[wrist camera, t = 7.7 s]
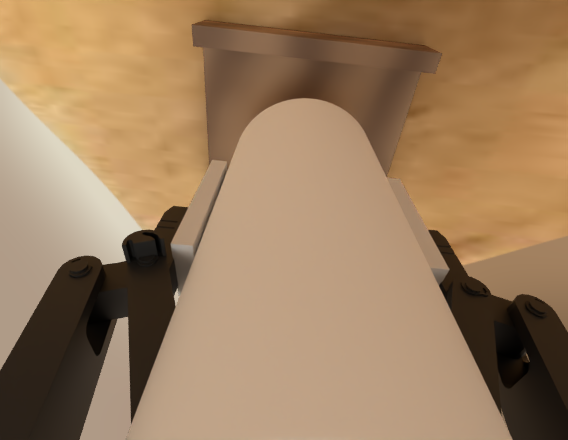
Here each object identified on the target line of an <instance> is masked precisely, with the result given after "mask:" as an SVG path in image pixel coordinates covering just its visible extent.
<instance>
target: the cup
mask: <svg viewBox="0 0 568 440" xmlns="http://www.w3.org/2000/svg"><path fill="white" fill-rule="evenodd" d="M126 440H513V439H512V437H511V435H510V433H509V431H508V429H507V427H506V425H505V423H504V421H503V419H502V416H501V414H500V412H499V410H498V408H497V406H496V404H495V402H494V400H493V398H492V396H491V393H490V391H489V389H488V387H487V385H486V383H485V381H484V379H483V377H482V375H481V373H480V370H479V368H478V366H477V364H476V362H475V360H474V358H473V356H472V354H471V352H470V350H469V347H468V345H467V343H466V341H465V339H464V337H463V335H462V333H461V331H460V329H459V327H458V325H457V323H456V321H455V318H454V316H453V314H452V312H451V310H450V308H449V306H448V304H447V302H446V300H445V298H444V296H443V294H442V291H441V289H440V287H439V285H438V283H437V281H436V279H435V277H434V275H433V273H432V271H431V269H430V267H429V264H428V262H427V260H426V258H425V256H424V254H423V252H422V250H421V248H420V246H419V244H418V242H417V240H416V237H415V235H414V233H413V231H412V229H411V227H410V225H409V223H408V221H407V219H406V217H405V215H404V213H403V210H402V208H401V206H400V204H399V202H398V200H397V198H396V196H395V194H394V192H393V190H392V188H391V186H390V183H389V181H388V179H387V177H386V175H385V173H384V171H383V169H382V167H381V165H380V163H379V161H378V159H377V156H376V154H375V152H374V150H373V148H372V146H371V144H370V142H369V140H368V138H367V136H366V134H365V132H364V130H363V128H362V127H361V126H360V124H359V123H358V122H357V121H356V120H355V119H354V118H353V117H352V116H351V115H350V114H349V113H348V112H346V111H345V110H343V109H342V108H340V107H338V106H336V105H334V104H332V103H329V102H326V101H322V100H318V99H310V98H299V99H291V100H287V101H283V102H280V103H277V104H275V105H273V106H271V107H269V108H267V109H265V110H264V111H262V112H261V113H260V114H258V115H257V116H256V117H255V118H254V119H253V120H252V121H251V122H250V123H249V124H248V126H247V127H246V128H245V130H244V131H243V133H242V135H241V137H240V139H239V142H238V144H237V147H236V149H235V152H234V155H233V157H232V160H231V163H230V165H229V168H228V170H227V173H226V176H225V178H224V181H223V184H222V186H221V189H220V192H219V194H218V197H217V199H216V202H215V205H214V207H213V210H212V213H211V215H210V218H209V220H208V223H207V226H206V228H205V231H204V234H203V236H202V239H201V242H200V244H199V247H198V249H197V252H196V255H195V257H194V260H193V263H192V265H191V268H190V271H189V273H188V276H187V278H186V281H185V284H184V286H183V289H182V292H181V294H180V297H179V300H178V302H177V305H176V307H175V310H174V313H173V315H172V318H171V321H170V323H169V326H168V328H167V331H166V334H165V336H164V339H163V342H162V344H161V347H160V350H159V352H158V355H157V357H156V360H155V363H154V365H153V368H152V371H151V373H150V376H149V379H148V381H147V384H146V387H145V389H144V392H143V395H142V397H141V400H140V403H139V405H138V408H137V410H136V413H135V416H134V418H133V421H132V424H131V427H130V429H129V432H128V435H127V437H126Z"/></svg>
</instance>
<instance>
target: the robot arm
mask: <svg viewBox="0 0 568 440" xmlns="http://www.w3.org/2000/svg"><path fill="white" fill-rule="evenodd" d="M226 173H227V161H218V160H212V161H211V163H210V165H209V167H208V169H207V171H206V173H205V175H204V177H203V179H202V181H201V183H200V185H199V187H198V189H197V191H196V193H195V195H194V197H193V199H192V201H191V203H190V205H189V207H178V206H173V207H171V208H170V209H169V210H167V211H166V212H165V213H164V215H163V216H162V218H161V220H160V221H159V223H158V225H157V228H155V230H154V231H153V230H141V231H137V232H134V233H132V234H130V235H129V236H127V237H126V238H125V239H124V241H123V243H122V248H123V251H124V255H125V258H126V261H124V262H120V263H113V264H106V265H102V263H101V261H100V259H98V258H96V257H94V256H81V257H77V258H74V259H72V260H69V261H68V262H66V263H64V264H63V265H62V266H61V267H60V269H59V270H58V271H57V273H56V274H55V276H54V278H53V280H52V281H51V283H50V285H49V287H48V288H47V290H46V292H45V294H44V295H43V297H42V299H41V301H40V302H39V304H38V306H37V308H36V309H35V311H34V313H33V315H32V316H31V318H30V320H29V322H28V323H27V325H26V327H25V328H24V330H23V332H22V334H21V335H20V337H19V339H18V341H17V342H16V344H15V346H14V348H13V350H12V351H11V353H10V355H9V356H8V358H7V360H6V362H5V363H4V365H3V367H2V369H1V370H0V440H79V439H80V436H81V433H82V430H83V426H84V423H85V420H86V417H87V414H88V411H89V407H90V404H91V401H92V398H93V395H94V391H95V388H96V385H97V382H98V379H99V376H100V373H101V369H102V366H103V363H104V360H105V356H106V353H107V350H108V347H109V344H110V341H111V338H112V334H113V331H114V328H115V325H116V322H117V319H118V318H123V317H128V320H129V321H128V325H129V361H130V399H131V424H132V421H133V418H134V416H135V413H136V410H137V408H138V405H139V403H140V400H141V397H142V395H143V392H144V389H145V387H146V384H147V381H148V379H149V376H150V373H151V371H152V368H153V365H154V363H155V360H156V357H157V355H158V352H159V350H160V347H161V344H162V342H163V339H164V336H165V334H166V331H167V328H168V326H169V323H170V321H171V318H172V315H173V313H174V310H175V307H176V306H175V300H174V295H175V292H176V290H177V288H178V294H179V296H180V294H181V292H182V289H183V286H184V284H185V281H186V278H187V276H188V273H189V271H190V268H191V265H192V263H193V260H194V257H195V255H196V252H197V249H198V247H199V244H200V242H201V239H202V236H203V234H204V231H205V228H206V226H207V223H208V220H209V218H210V215H211V213H212V210H213V207H214V205H215V202H216V199H217V197H218V194H219V192H220V189H221V186H222V184H223V181H224V178H225V176H226ZM387 179H388V181H389V183H390V186H391V188H392V190H393V192H394V194H395V196H396V198H397V200H398V202H399V204H400V206H401V208H402V210H403V213H404V215H405V217H406V219H407V221H408V223H409V225H410V227H411V229H412V231H413V233H414V235H415V237H416V240H417V242H418V244H419V246H420V248H421V250H422V252H423V254H424V256H425V258H426V260H427V262H428V264H429V267H430V269H431V271H432V273H433V275H434V277H435V279H436V281H437V283H438V285H439V287H440V289H441V291H442V294H443V296H444V298H445V300H446V302H447V304H448V306H449V308H450V310H451V312H452V314H453V316H454V318H455V321H456V323H457V325H458V327H459V329H460V331H461V333H462V335H463V337H464V339H465V341H466V343H467V345H468V347H469V350H470V352H471V354H472V356H473V358H474V360H475V362H476V364H477V366H478V368H479V370H480V373H481V375H482V377H483V379H484V381H485V383H486V385H487V387H488V389H489V391H490V393H491V396H492V398H493V400H494V402H495V404H496V406H497V408H498V410H499V412H500V414H501V409H502V412H503V415H504V417H505V421H506V424H507V427H508V430H509V433H510V435H511V437H512V439H513V440H568V332H567V330H566V329H565V327H564V325H563V324H562V322H561V321H560V319H559V317H558V316H557V314H556V312H555V311H554V310H553V309H552V308H551V307H550V306H549V305H548V304H546V303H545V302H544V301H542V300H540V299H538V298H536V297H534V296H530V295H524V294H521V295H518V296H517V297H516V298H515V299H514V300H513V301H509V300H505V299H503V298H499V297H496V296H493V295H491V293H490V291H489V289H488V288H487V287H486V286H485V285H484V284H483V283H481V282H480V281H479V280H476V279H474V278H472V277H469V276H468V275H467V273H466V271H465V270H464V268H463V266H462V265H461V263H460V261H459V260H458V258H457V256H456V255H455V253H454V251H453V250H452V248H451V246H450V245H449V243H448V241H447V240H446V238H445V237H444V236H443V235H441V234H440V233H439V232H438V231H435V230H428V229H427V228H426V226H425V224H424V222H423V220H422V218H421V217H420V215H419V213H418V211H417V209H416V207H415V206H414V204H413V202H412V200H411V198H410V196H409V195H408V193H407V191H406V189H405V187H404V186H403V184H402V182H401V180H400V179H396V178H387ZM526 353H527V354H528V357H529V360H530V362H529V360H528V359H527V356H526ZM501 416H502V415H501Z"/></svg>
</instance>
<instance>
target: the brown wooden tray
mask: <svg viewBox="0 0 568 440" xmlns="http://www.w3.org/2000/svg"><path fill="white" fill-rule="evenodd" d="M192 35H193V46H196V47H203V54H204V73H205V92H206V112H207V131H208V150H209V165H210V163H211V161H212V160H218V161H227V170H228V168H229V165H230V163H231V160H232V157H233V155H234V152H235V149H236V147H237V144H238V142H239V139H240V137H241V135H242V133H243V131H244V130H245V128H246V127H247V126H248V124H249V123H250V122H251V121H252V120H253V119H254V118H255V117H256V116H257V115H258V114H260V113H261V112H262V111H264V110H265V109H267V108H269V107H271V106H273V105H275V104H277V103H280V102H283V101H287V100H291V99H299V98H310V99H318V100H322V101H326V102H329V103H332V104H334V105H336V106H338V107H340V108H342V109H343V110H345V111H346V112H348V113H349V114H350V115H351V116H352V117H353V118H354V119H355V120H356V121H357V122H358V123H359V124H360V126H361V127H362V128H363V130H364V132H365V134H366V136H367V138H368V140H369V142H370V144H371V146H372V148H373V150H374V152H375V154H376V156H377V159H378V161H379V163H380V165H381V167H382V169H383V171H384V173H385V175H386V177H387V174H388V171H389V168H390V165H391V162H392V159H393V156H394V153H395V150H396V147H397V144H398V141H399V138H400V135H401V132H402V129H403V126H404V123H405V120H406V117H407V114H408V111H409V108H410V105H411V102H412V99H413V95H414V92H415V89H416V86H417V83H418V80H419V77H420V74H421V72H425V73H433V74H435V73H436V70H437V67H438V64H439V61H440V58H441V56H442V53H440V52H438V51H436V50H433V49H431V48H429V47H427V46H424V45H415V44H407V43H398V42H389V41H381V40H372V39H364V38H355V37H346V36H338V35H329V34H320V33H312V32H303V31H294V30H286V29H277V28H269V27H260V26H251V25H243V24H234V23H225V22H217V21H208V20H204V21H201V22H198V23H195V24H192Z"/></svg>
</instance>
